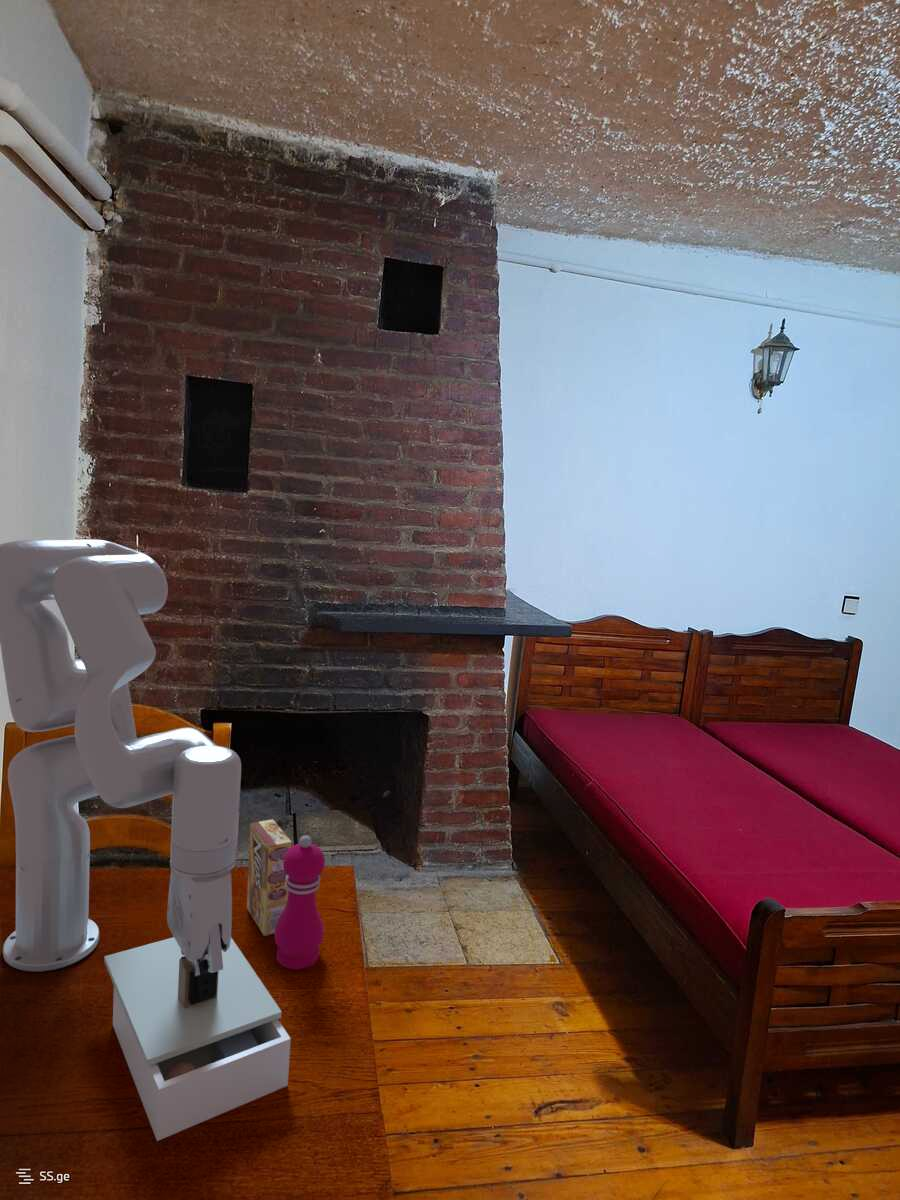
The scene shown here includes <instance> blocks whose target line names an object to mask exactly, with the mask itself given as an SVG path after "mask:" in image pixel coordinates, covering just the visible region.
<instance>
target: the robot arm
mask: <svg viewBox="0 0 900 1200" xmlns="http://www.w3.org/2000/svg"><path fill="white" fill-rule="evenodd" d="M168 591H169V588H168V581H167V578H166V575H165V572H164V571H163V569H162V568H161V566H160V565H159V564H158V562H156V560H154V559H153V558H152V557H150V556H149V555H147V554H145V553H143V552H141V551H138V550H135V549H132V548H130V547H127V546H124V545H121V544H117V543H116V542H112V541H108V540H103V539H25V540H23V539H22V540H13V541H9V542H4V543H2V544H1V543H0V651H1V659H2V666H3V671H4V676H5V677H4V678H5V685H6V690H7V692H6V693H7V697H8V699H7V700H8V703H9V708H10V714H11V716H12V719H13V721H14V723H15V724H16V726H17V728H19V729H21V730H22V731H25V732H29V733H31V732H32V733H38V732H47V731H52V730H56V729H62V728H67V727H71V726H74V734H70V735H69V734H68V735H65V736H61V737H55V738H53V739H52V738H51V739H48V740H44V741H40V742H36V743H34V744H32V745H28V746H27V747H25V748H23V749H22V750H20V751H19V752H18V753H17V754H16V755H14V756H13V758H12V760H11V761H10V762H9V765H8V769H7V780H8V788H9V792H10V796H11V800H12V801H11V802H12V806H13V814H14V823H15V824H14V825H15V930H14V931H13V932H11V933H10V935H9V936H8V937H7V938H6V940H5V941H4V943H3V946H2V956H3V959H4V961H5V962H6V964H8V965H9V966H10V967H12V968H14V969H17V970H20V971H24V972H47V971H53V970H57V969H61V968H62V969H63V968H65V967H68V966H70V965H73V964H75V963H76V962H79V961H80V960H83V959H84V958H85V957H87V956H89V955H90V953H91V952H93V951H94V950H95V948H97V945H98V944H99V940H100V929H99V925H97V924H96V922H94V920H92V919H90V918H89V911H90V910H89V906H90V905H89V902H90V896H89V895H90V862H91V861H90V859H91V858H90V854H91V853H90V850H91V832H90V828H89V825H88V822H87V821H86V819H85V818H84V817H83V816H82V815H81V814H80V813H78V812H77V811H76V810H75V807H74V806H75V805H76V804H77V803H79V802H82V801H85V800H88V799H91V798H94V797H98V796H99V797H100V798H101V800H102V801H103V802H104V803H106V804H108V805H109V806H111V807H112V808H118V809H126V808H131V807H134V806H137V805H138V806H139V805H141V804H144V803H147V802H150V801H153V800H156V799H159V798H163V797H165V796H168V795H172V805H171V806H172V808H171V830H170V831H171V833H170V860H169V867H170V869H171V870H170V878H169V879H170V880H169V887H168V888H169V889H168V897H167V898H168V899H167V908H166V909H167V911H166V923H167V926H168V929H169V930H170V933H171V934H172V937H174V938H175V940H176V942H177V943H178V945H179V947H180V949H181V954H182V955H185V956H183V957H181V958H185V957H186V958H187V959H188V960H190V961H193V972H190V973H189V994H188V1001H189V1003H190V1004H191V1005H192V1004H196V1003H199V1002H202V1001H205V1000H208V999H211V998H214V997H215V996H216V986H217V971H220V970H223V960H222V950H223V951H224V952H226V951H227V950H228V948H229V946H230V940H231V938H232V928H233V925H232V924H233V922H232V921H233V896H232V895H233V894H232V893H233V891H232V890H233V888H232V887H233V886H232V872H231V870H233V868H234V867H235V866H236V864H237V856H238V855H237V854H238V853H237V851H238V834H239V819H240V818H239V817H240V799H241V797H240V796H241V781H242V762H241V761H242V760H241V758H240V756H239V755H238V754H237V752H235V751H234V750H233V749H231V748H228V747H226V746H225V747H224V746H222V745H221V746H220V745H217V744H216V743H215V742H214V741H213V740H212V739H210V737H208V736H207V735H206V734H205V733H203V732H202V731H201V730H200V729H197V728H193V727H189V726H188V727H180V728H174V729H171V730H167V731H163V732H158V733H153V734H148V735H145V736H141V737H137V732H136V725H135V718H134V712H133V711H134V710H133V705H132V698H131V692H130V687H129V683H130V682H131V681H133V680H134V679H135V678H137V677H138V676H140V675H141V674H143V672H145V671H146V670H147V669H149V667H150V666H151V665H152V664H153V662H154V660H155V658H156V654H157V653H156V647H155V645H154V643H153V640H152V638H151V636H150V635H149V632H148V630H147V628H146V626H145V624H144V622H143V620H142V617H141V616H142V615H150V614H154V613H156V612H158V611H159V610H161V609H162V608H163V606H165V604H166V602H167V598H168V594H169V592H168ZM53 600H55V602H56V604H57V606H58V608H59V611H60V613H61V616H62V618H63V620H64V623H65V625H66V627H67V629H66V628H65V626H64V624H63V623H62V622H61V620H60V619H59V618H58V616H57V615H56V614H54V612H52V610H50V608H48V606H45V605H44V604H43V603H42V602H43V601H53ZM67 630H68V632H69V635H70V636H71V639H72V641H73V643H74V645H75V648H76V651H77V653H78V655H79V658H77V659H73V658H72V655H71V652H70V646H69V639H68V633H67ZM221 949H222V950H221ZM204 955H208V959H206V960H202V961H201V962H200V959H201V957H202V956H204Z"/></svg>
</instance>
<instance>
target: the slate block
mask: <svg viewBox="0 0 900 1200" xmlns="http://www.w3.org/2000/svg"><path fill="white" fill-rule="evenodd" d="M256 1046H258V1043H257V1042H256V1040H255V1038H254V1037H253V1035H252V1033H251V1032H250V1030H246V1031H243V1032H240V1033H238V1034H235V1035H232V1036H230V1037H227V1038H224V1039H221V1040H219V1041H216V1042H213V1053H212V1063H214V1062H217V1061H219V1060H222V1059H224V1058H227V1057H230V1056H232V1055H235V1054H238V1053H240V1052H243V1051H245V1050H248V1049H251V1048H253V1047H256Z"/></svg>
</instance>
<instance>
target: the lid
mask: <svg viewBox="0 0 900 1200" xmlns="http://www.w3.org/2000/svg"><path fill="white" fill-rule="evenodd" d="M221 950H222V949H221ZM183 956H185V955H182V954H181V949H180V947H179V945H178V943H177V942H176V940H175V938H174V936H172V937H169V938H166V939H163V940H159V941H155V942H151V943H148V944H145V945H141V946H137V947H133V948H130V949H127V950H122V951H119V952H115V953H112V954H108V955H104V959H103V961H104V964H105V967H106V969H107V972H108V975H109V977H110V979H111V981H112V985H113V988H114V987H115V989H116V992H117V994H118V996H119V999H120V1001H121V1004H122V1006H123V1009H124V1011H125V1013H126V1016H127V1018H128V1021H129V1023H130V1026H131V1028H132V1031H133V1033H134V1035H135V1038H136V1040H137V1043H138V1045H139V1048H140V1050H141V1052H142V1055H143V1057H144V1060H145V1062H146V1065H147V1066H150V1065H153V1064H156V1063H158V1062H161V1061H164V1060H167V1059H169V1058H172V1057H175V1056H177V1055H180V1054H183V1053H186V1052H188V1051H191V1050H194V1049H197V1048H199V1047H202V1046H205V1045H208V1044H210V1043H213V1042H216V1041H219V1040H221V1039H224V1038H227V1037H230V1036H232V1035H235V1034H238V1033H240V1032H243V1031H246V1030H249V1029H251V1028H254V1027H257V1026H260V1025H262V1024H265V1023H268V1022H271V1021H273V1020H276V1019H278V1020H279V1019H281V1018H282V1010H281V1008H280V1006H279V1005H278V1004H277V1002H276V1001H275V999H274V998H273V997H272V995H271V994H270V992H269V990H268V989H267V987H265V985H264V982H262V980H261V979H260V977H259V976H258V975H257V973H256V971H255V970H254V969H253V967H252V966H251V964H250V963H249V961H248V959H246V957H245V956H244V954H243V952H242V951H241V949H240V948H239V946H238V945H237V944H236V942H235V940H234V939H233V938H232V937H231V940H230V946H229V948H228V950H227V951H226V952H224V951H223V950H222V960H223V970H220V971H217V986H216V996H215V997H214V998H211V999H208V1000H205V1001H202V1002H199V1003H196V1004H192V1005H191V1004H190V1003H189V1001H188V994H189V973H190V972H193V961H190V960H188V959H187V958H186V957H185V958H181V957H183ZM206 959H208V955H204V956H202V957H201V959H200V962H201V961H202V960H206Z"/></svg>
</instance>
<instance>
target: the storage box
mask: <svg viewBox="0 0 900 1200" xmlns="http://www.w3.org/2000/svg"><path fill="white" fill-rule="evenodd" d="M112 1002H113V1003H112V1005H113V1007H112V1008H113V1009H112V1012H113V1013H112V1014H113V1015H112V1027H113V1029H114V1032H115V1035H116V1037H117V1041H118V1043H119V1045H120V1048H121V1051H122V1053H123V1055H124V1058H125V1061H126V1063H127V1067H128V1068H129V1071H130V1074H131V1077H132V1079H133V1083H134V1084H135V1088H136V1089H137V1093H138V1095H139V1098H140V1101H141V1102H142V1105H143V1108H144V1111H145V1114H146V1116H147V1119H148V1121H149V1124H150V1127H151V1129H152V1132H153V1134H154V1137H155V1139H156V1142H158V1141H160V1140H163V1139H166V1138H167V1137H171V1136H172V1135H176V1134H178V1133H180V1132H181V1131H185V1130H187V1129H189V1128H192V1127H193V1126H196V1125H199V1124H201V1123H203V1122H205V1121H208V1120H211V1119H213V1118H214V1117H217V1116H219V1115H221V1114H224V1113H227V1112H229V1111H231V1110H234V1109H236V1108H239V1107H241V1106H243V1105H246V1104H248V1103H250V1102H253V1101H255V1100H258V1099H259V1098H262V1097H264V1096H267V1095H269V1094H272V1093H274V1092H276V1091H278V1090H282V1089H284V1088H286V1087H288V1083H289V1073H290V1072H289V1071H290V1068H289V1067H290V1056H291V1041H292V1040H291V1036H289V1034H288V1032H287V1031H286V1029H285V1028H284V1026H283V1025H282V1023H281V1022H280V1020H279V1019H276V1020H273V1021H271V1022H268V1023H265V1024H262V1025H260V1026H257V1027H254V1028H251V1029H249V1030H250V1032H251V1033H252V1035H253V1037H254V1038H255V1040H256V1042H257V1043H258V1046H256V1047H253V1048H251V1049H248V1050H245V1051H243V1052H240V1053H238V1054H235V1055H232V1056H230V1057H227V1058H224V1059H222V1060H219V1061H217V1062H214V1063H212V1053H213V1043H210V1044H208V1045H205V1046H202V1047H199V1048H197V1049H194V1050H191V1051H188V1052H186V1053H183V1054H180V1055H177V1056H175V1057H172V1058H169V1059H167V1060H164V1061H161V1062H158V1063H156V1064H153V1065H150V1066H147V1065H146V1062H145V1060H144V1057H143V1055H142V1052H141V1050H140V1048H139V1045H138V1043H137V1040H136V1038H135V1035H134V1033H133V1031H132V1028H131V1026H130V1023H129V1021H128V1018H127V1016H126V1013H125V1011H124V1009H123V1006H122V1004H121V1001H120V999H119V996H118V994H117V992H116V989H115V987H114V986H113V1001H112ZM182 1061H186V1062H190V1063H191V1064H193V1065H194V1066H195V1068H196V1070H193V1071H190V1072H188V1073H185V1074H182V1075H180V1076H177V1077H175V1078H172V1079H169V1080H167V1081H165V1077H166V1074H167V1072H168V1070H169V1069H170V1068H171V1067H172V1066H173V1065H174V1064H176V1063H178V1062H182Z"/></svg>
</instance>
